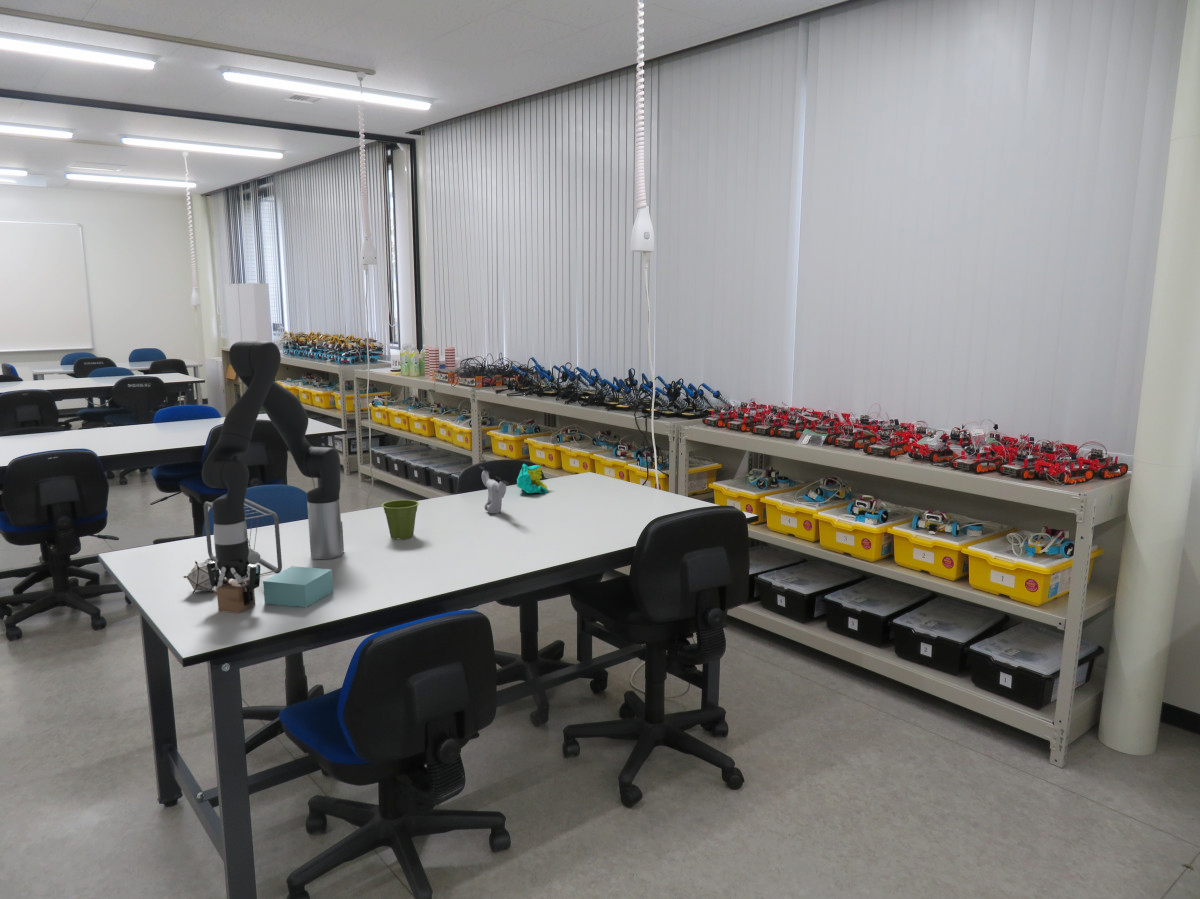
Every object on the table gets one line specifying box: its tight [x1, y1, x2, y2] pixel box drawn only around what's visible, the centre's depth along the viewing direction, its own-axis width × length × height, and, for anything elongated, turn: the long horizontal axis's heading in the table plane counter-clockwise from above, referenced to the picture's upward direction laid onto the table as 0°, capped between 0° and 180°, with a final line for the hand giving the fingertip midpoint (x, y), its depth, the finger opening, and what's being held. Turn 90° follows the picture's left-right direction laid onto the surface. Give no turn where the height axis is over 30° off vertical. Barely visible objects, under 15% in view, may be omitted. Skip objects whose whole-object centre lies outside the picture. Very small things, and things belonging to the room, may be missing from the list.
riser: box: [262, 565, 334, 608], centre depth 206 cm, size 12×12×6 cm
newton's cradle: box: [203, 498, 283, 579], centre depth 230 cm, size 30×10×18 cm, turn 44°
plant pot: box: [381, 499, 420, 541], centre depth 259 cm, size 12×12×11 cm
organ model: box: [516, 463, 549, 494], centre depth 321 cm, size 15×12×13 cm
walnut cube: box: [216, 579, 256, 614], centre depth 199 cm, size 6×6×6 cm
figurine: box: [478, 465, 510, 515], centre depth 289 cm, size 35×6×15 cm, turn 25°
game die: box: [183, 560, 216, 594], centre depth 210 cm, size 9×8×10 cm
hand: (236, 603), depth 199 cm, fingers closed on walnut cube, 6 cm apart
